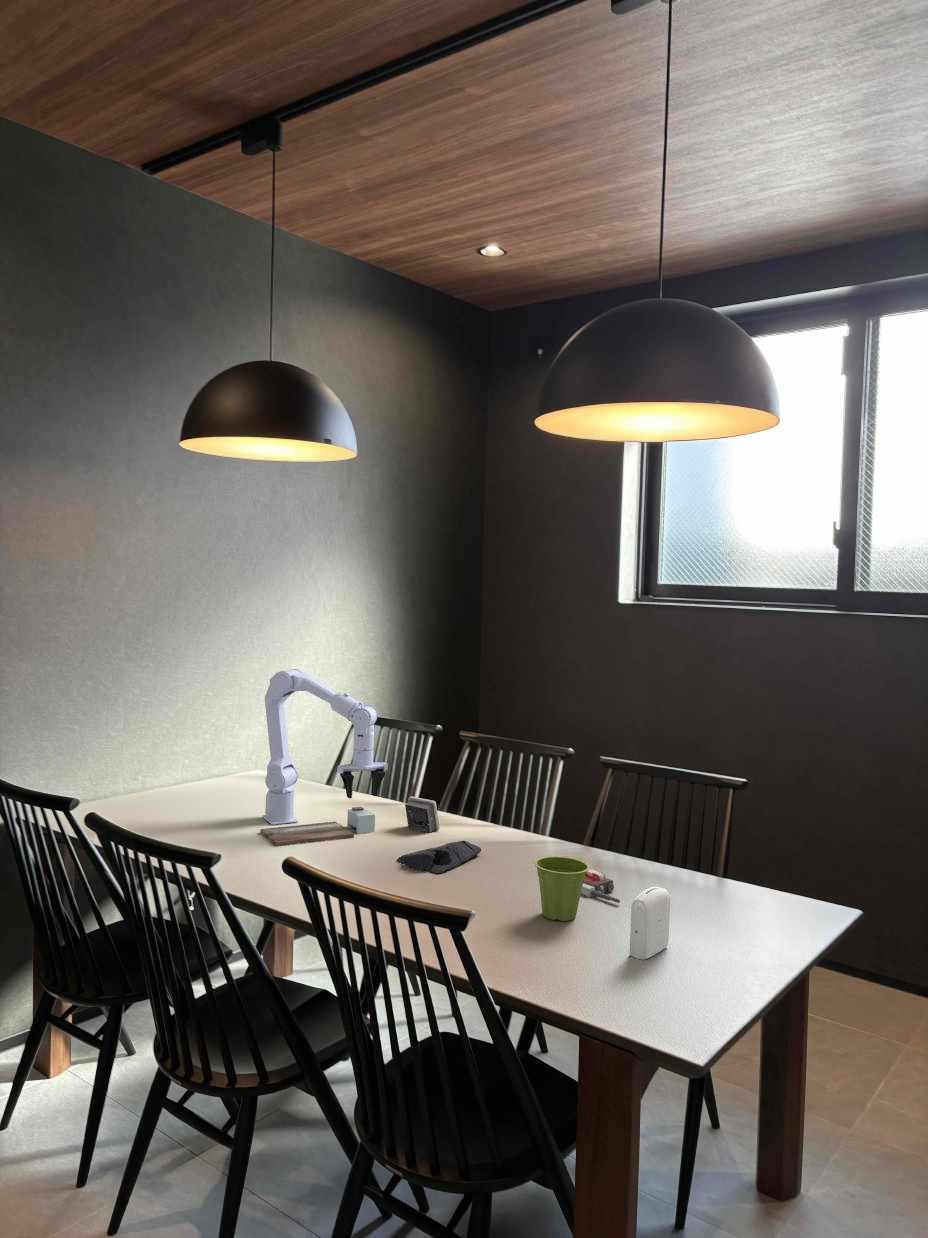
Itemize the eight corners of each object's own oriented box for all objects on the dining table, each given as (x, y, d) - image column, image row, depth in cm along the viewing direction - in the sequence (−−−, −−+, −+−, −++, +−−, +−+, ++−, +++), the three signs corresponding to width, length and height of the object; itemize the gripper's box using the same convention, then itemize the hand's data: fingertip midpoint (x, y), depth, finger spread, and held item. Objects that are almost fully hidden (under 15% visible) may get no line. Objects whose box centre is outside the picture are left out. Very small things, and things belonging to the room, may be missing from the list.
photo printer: (645, 962, 172) (648, 898, 171) (626, 956, 174) (628, 892, 174) (671, 947, 180) (674, 885, 179) (651, 941, 182) (654, 880, 182)
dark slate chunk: (491, 858, 235) (491, 840, 235) (436, 878, 218) (437, 859, 218) (445, 846, 245) (446, 829, 245) (390, 864, 228) (390, 845, 227)
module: (347, 827, 259) (347, 807, 259) (363, 825, 262) (363, 806, 261) (358, 834, 252) (358, 814, 252) (374, 832, 255) (375, 812, 254)
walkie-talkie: (550, 884, 216) (616, 909, 201) (550, 866, 216) (616, 889, 201) (574, 878, 222) (640, 901, 207) (575, 860, 222) (641, 882, 207)
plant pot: (573, 930, 186) (575, 876, 186) (522, 917, 193) (524, 865, 192) (596, 914, 196) (598, 863, 196) (547, 902, 203) (549, 852, 202)
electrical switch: (440, 831, 259) (439, 799, 257) (429, 836, 254) (429, 804, 253) (413, 825, 264) (413, 794, 263) (403, 830, 259) (402, 799, 258)
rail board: (260, 832, 250) (260, 825, 250) (335, 825, 261) (335, 818, 260) (275, 846, 238) (276, 838, 238) (353, 837, 248) (354, 830, 248)
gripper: (344, 753, 249) (343, 802, 250) (392, 750, 256) (390, 797, 257) (335, 748, 255) (333, 796, 256) (382, 745, 262) (380, 792, 263)
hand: (361, 796), depth 257 cm, fingers open, 7 cm apart
